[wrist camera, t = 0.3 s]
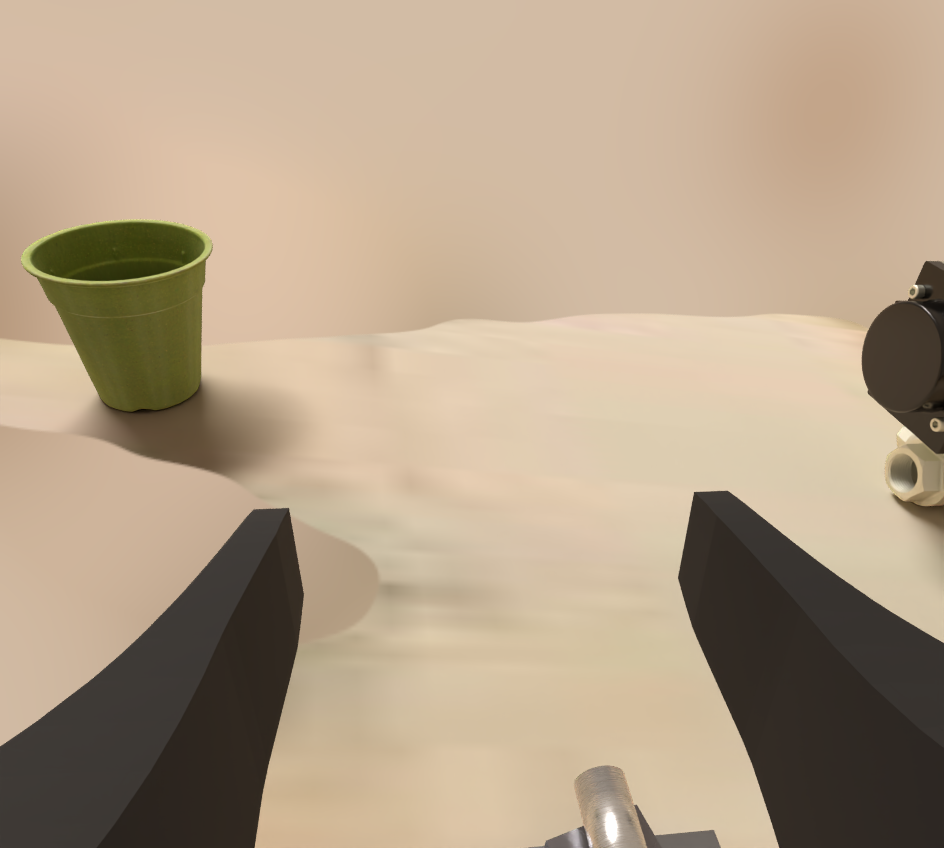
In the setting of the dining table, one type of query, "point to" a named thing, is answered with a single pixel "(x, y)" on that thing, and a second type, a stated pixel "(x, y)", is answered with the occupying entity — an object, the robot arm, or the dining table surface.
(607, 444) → the dining table surface
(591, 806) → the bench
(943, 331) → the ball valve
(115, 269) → the plant pot
